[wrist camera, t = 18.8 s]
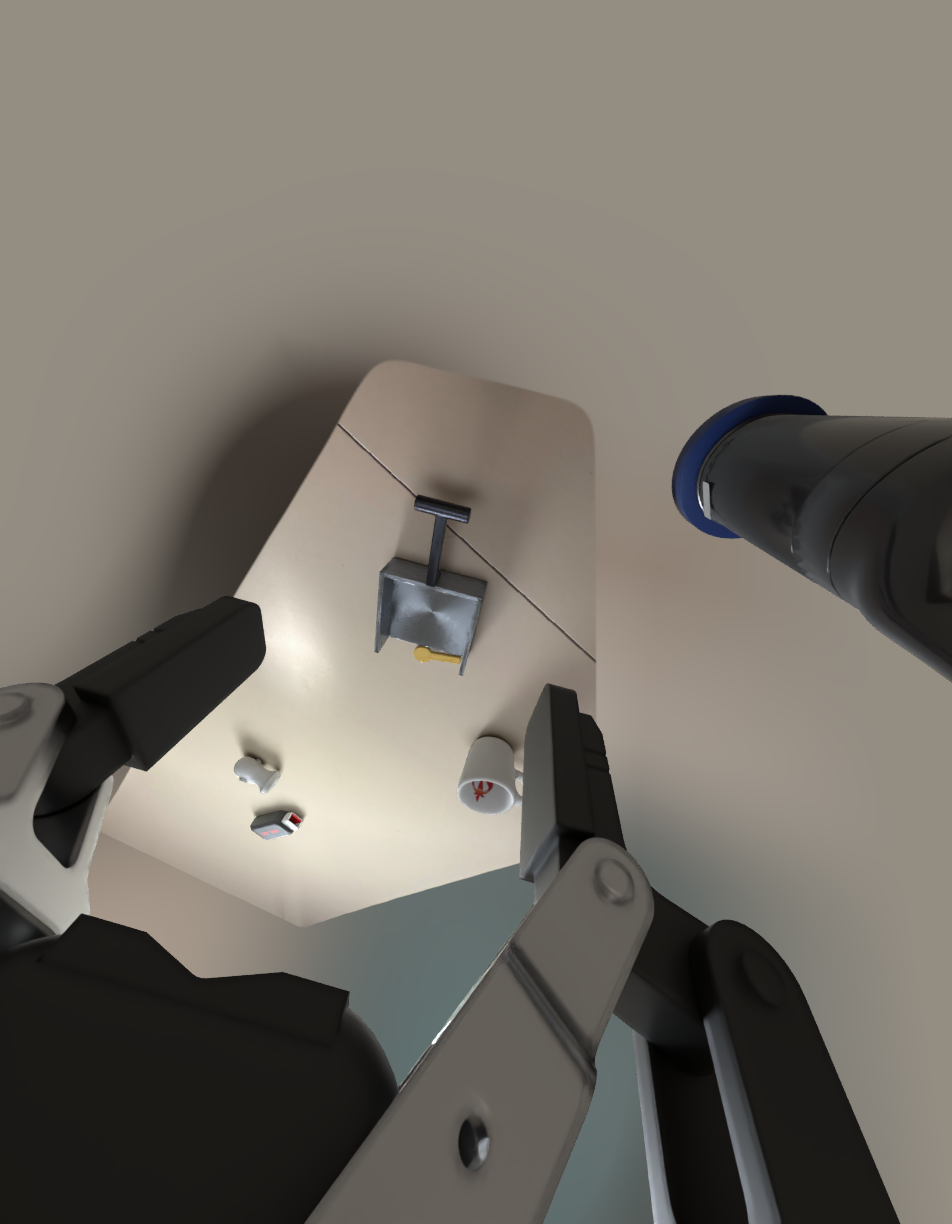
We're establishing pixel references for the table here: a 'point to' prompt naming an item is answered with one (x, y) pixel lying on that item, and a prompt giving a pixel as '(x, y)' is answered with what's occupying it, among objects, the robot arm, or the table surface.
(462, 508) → the metal dustpan with handle
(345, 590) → the table surface
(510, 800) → the cup
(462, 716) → the table surface
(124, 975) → the robot arm
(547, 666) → the table surface
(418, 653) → the yellow spoon
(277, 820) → the usb drive
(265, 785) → the smooth white sculpture
